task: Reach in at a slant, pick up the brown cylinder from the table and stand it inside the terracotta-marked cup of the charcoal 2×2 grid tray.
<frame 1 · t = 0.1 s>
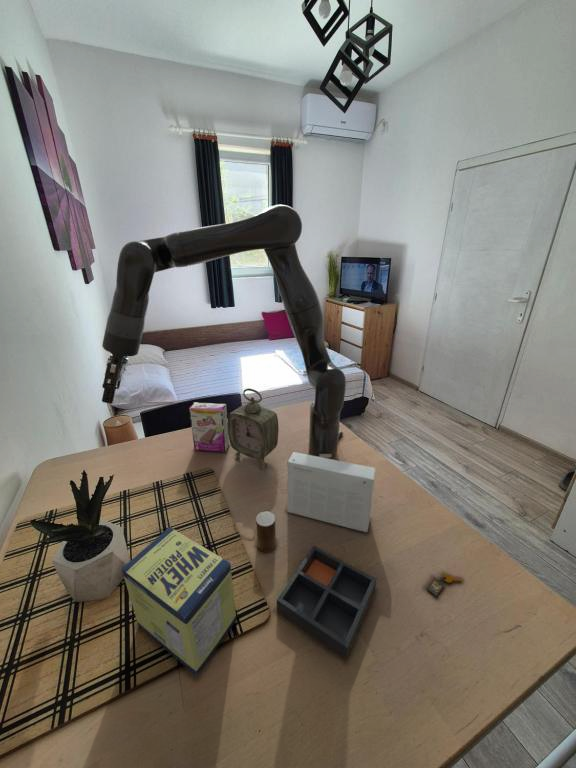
hand: (110, 394, 78), 31 cm above the table, tool tilted 20°, fingers open, 8 cm apart
skincare box: (327, 515, 85), on the table
tabletop clock: (255, 458, 107), on the table
protein box: (187, 623, 61), on the table
key tag: (444, 586, 67), on the table
grid: (327, 600, 64), on the table
candy bar box: (212, 448, 112), on the table
brown cylinder: (266, 544, 76), on the table
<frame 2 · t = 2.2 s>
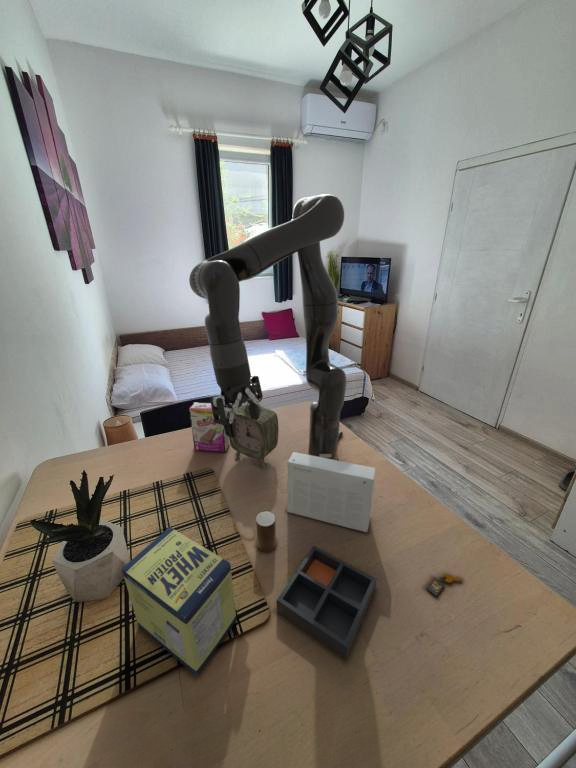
hand: (244, 427, 75), 26 cm above the table, tool pointing down, fingers open, 8 cm apart
nothing on the table moved.
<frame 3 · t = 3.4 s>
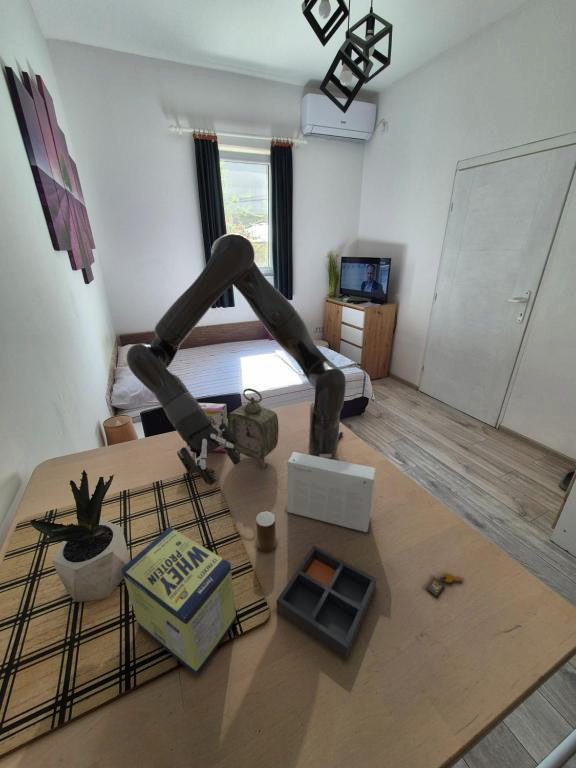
hand: (226, 473, 76), 16 cm above the table, tool tilted 45°, fingers open, 8 cm apart
nothing on the table moved.
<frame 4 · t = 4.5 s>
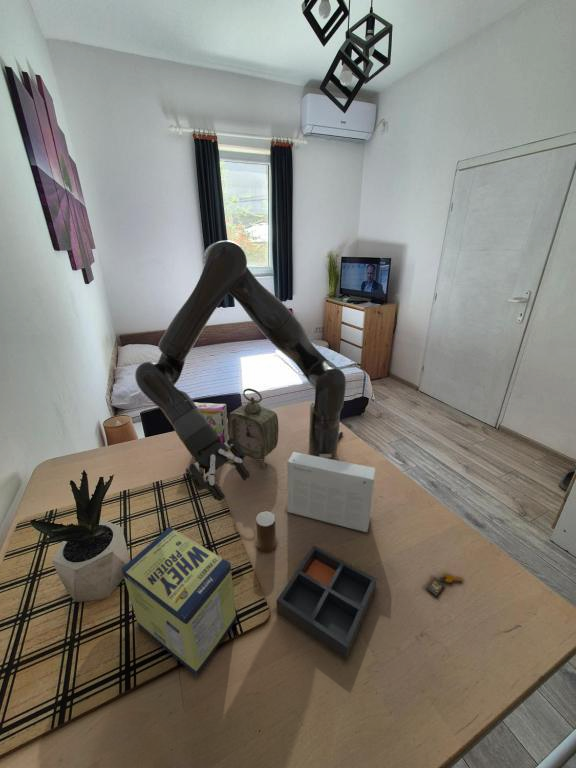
hand: (235, 488, 76), 12 cm above the table, tool tilted 45°, fingers open, 8 cm apart
nothing on the table moved.
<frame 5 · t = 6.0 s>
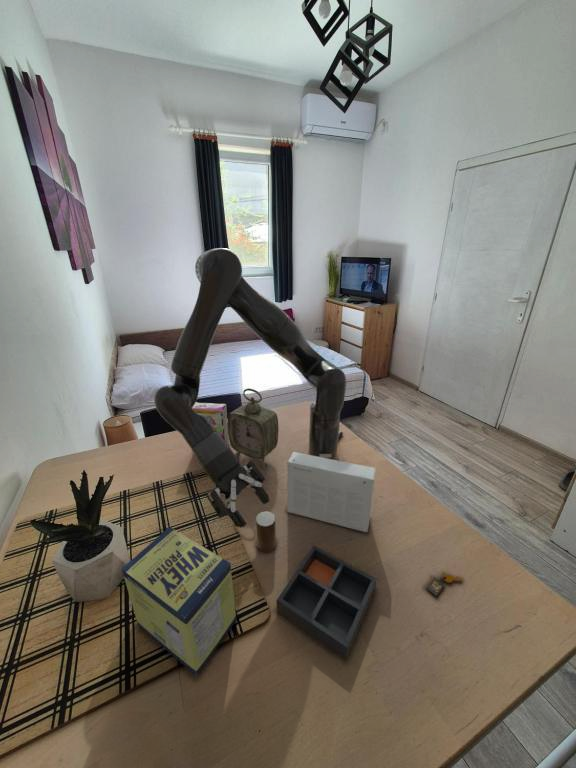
hand: (255, 513, 75), 8 cm above the table, tool tilted 45°, fingers open, 8 cm apart
nothing on the table moved.
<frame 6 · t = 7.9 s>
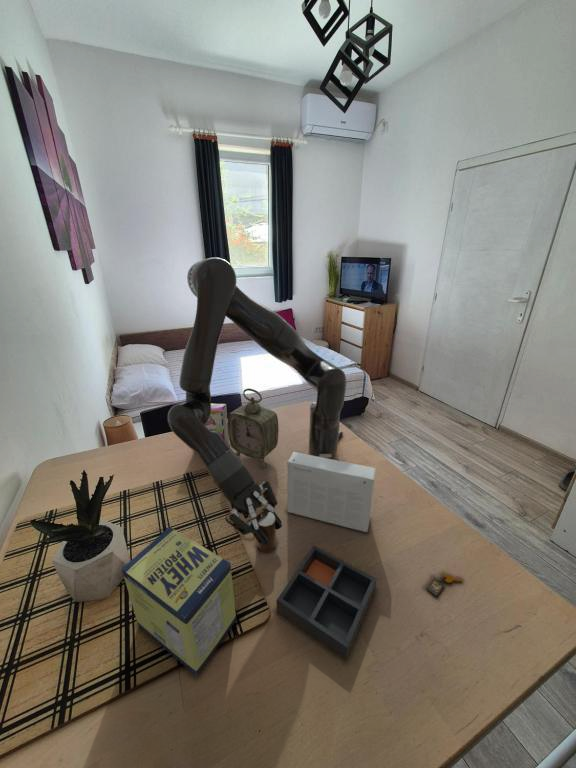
hand: (272, 534, 74), 4 cm above the table, tool tilted 45°, fingers closed on brown cylinder, 4 cm apart
brown cylinder: (266, 543, 76), on the table, touching gripper
everything else where it was.
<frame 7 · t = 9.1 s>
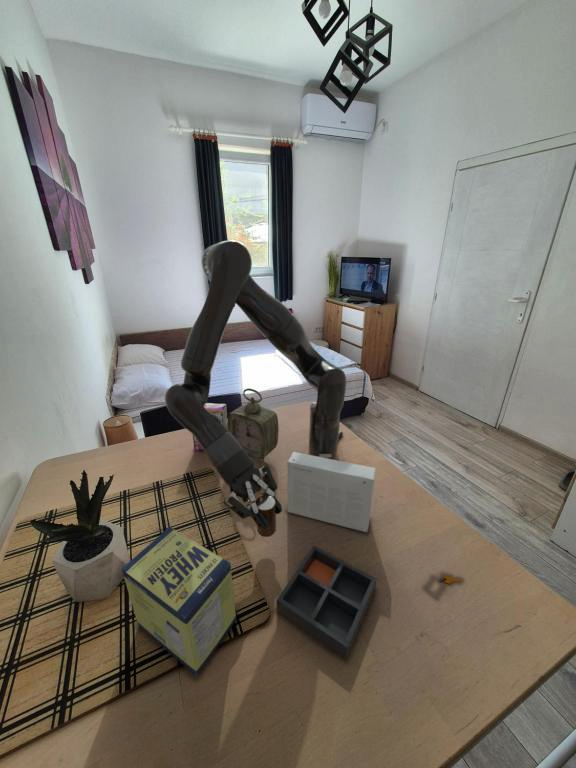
hand: (272, 519, 72), 9 cm above the table, tool tilted 45°, fingers closed on brown cylinder, 4 cm apart
brown cylinder: (266, 529, 75), point 5 cm above the table, touching gripper
everything else where it was.
when the fingers open (5 cm above the table, at t = 15.8 s): brown cylinder stays where it is, resting on grid.
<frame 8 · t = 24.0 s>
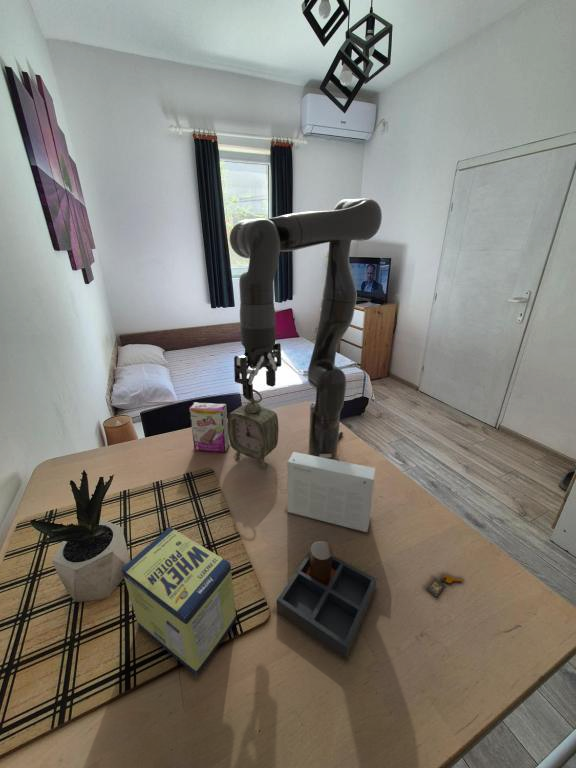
hand: (260, 391, 76), 33 cm above the table, tool pointing down, fingers open, 8 cm apart
brown cylinder: (320, 576, 68), point 1 cm above the table, touching grid
everything else where it was.
at the end: brown cylinder 0.1 cm from the target spot in the grid, point 0.7 cm above the grid's base; brown cylinder tilted 0°; the gripper is holding nothing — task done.
